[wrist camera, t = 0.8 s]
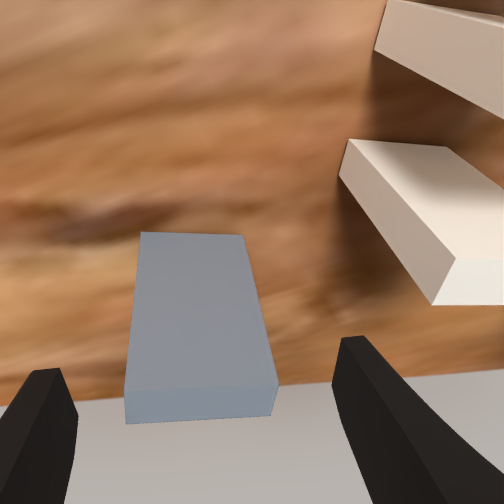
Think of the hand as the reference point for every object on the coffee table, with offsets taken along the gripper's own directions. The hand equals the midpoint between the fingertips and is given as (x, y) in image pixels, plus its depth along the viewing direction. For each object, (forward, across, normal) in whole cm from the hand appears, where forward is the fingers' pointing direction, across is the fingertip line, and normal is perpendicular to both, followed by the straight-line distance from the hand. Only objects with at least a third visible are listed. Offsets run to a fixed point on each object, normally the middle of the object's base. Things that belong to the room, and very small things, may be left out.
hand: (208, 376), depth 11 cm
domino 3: (+10, -10, -1) cm, 14 cm away
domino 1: (+10, 0, +3) cm, 11 cm away
